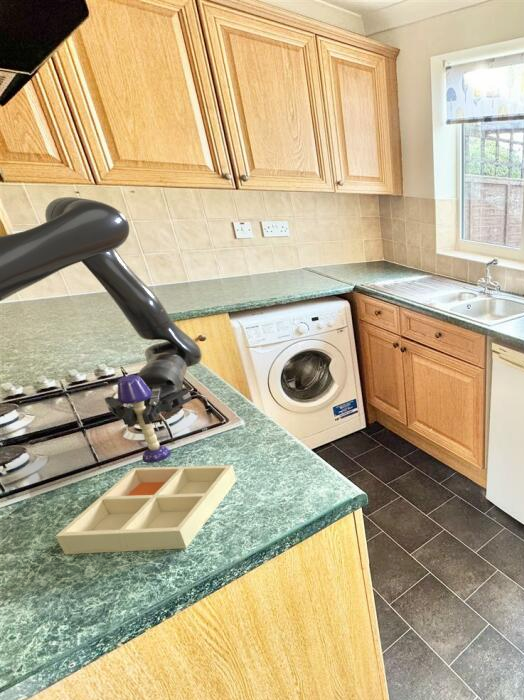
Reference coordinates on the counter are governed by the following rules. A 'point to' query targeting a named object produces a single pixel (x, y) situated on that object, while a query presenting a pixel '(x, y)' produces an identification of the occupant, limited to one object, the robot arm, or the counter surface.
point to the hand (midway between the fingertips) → (137, 420)
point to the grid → (149, 510)
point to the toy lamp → (136, 394)
